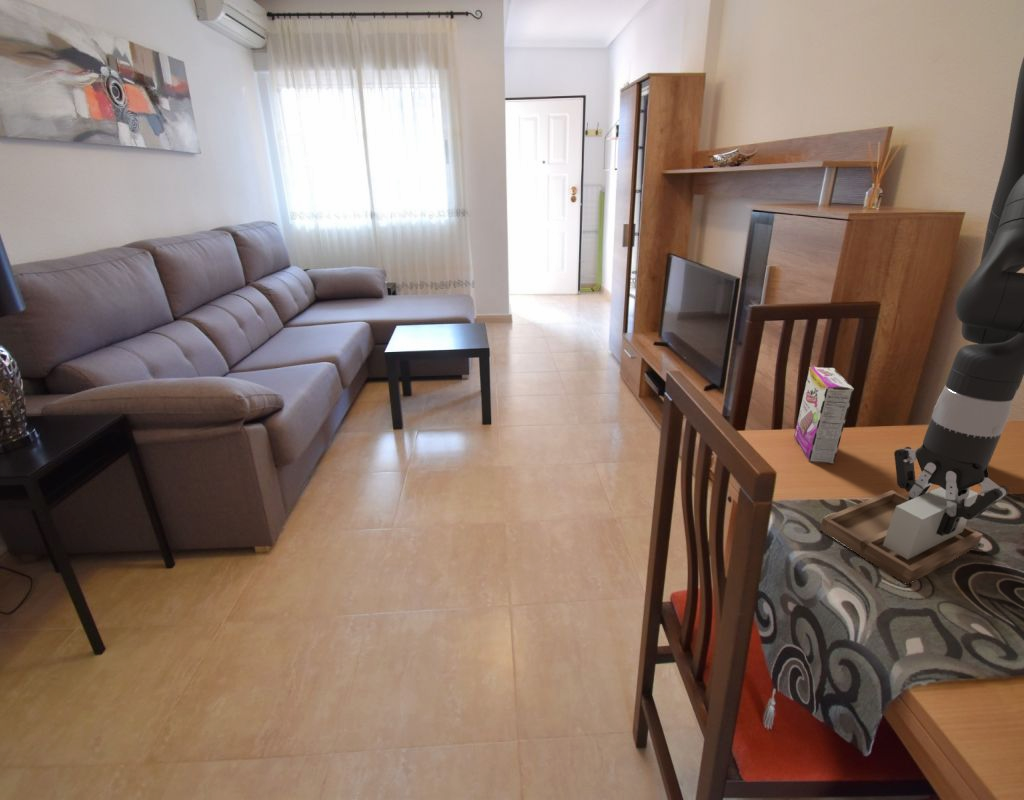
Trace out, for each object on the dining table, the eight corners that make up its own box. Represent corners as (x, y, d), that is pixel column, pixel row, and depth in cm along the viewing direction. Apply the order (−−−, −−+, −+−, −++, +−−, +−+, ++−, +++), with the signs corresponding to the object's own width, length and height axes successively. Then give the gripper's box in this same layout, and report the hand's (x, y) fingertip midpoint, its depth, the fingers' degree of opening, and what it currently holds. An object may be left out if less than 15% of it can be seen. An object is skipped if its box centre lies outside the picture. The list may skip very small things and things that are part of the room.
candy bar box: (791, 436, 115) (808, 365, 108) (816, 438, 114) (835, 367, 107) (807, 462, 105) (826, 386, 98) (834, 464, 104) (856, 388, 97)
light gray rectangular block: (937, 519, 84) (952, 481, 81) (962, 531, 81) (978, 493, 78) (882, 545, 78) (896, 506, 75) (907, 559, 75) (922, 519, 72)
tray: (888, 502, 92) (892, 490, 91) (977, 547, 81) (983, 534, 80) (819, 530, 85) (822, 518, 84) (906, 585, 74) (912, 571, 73)
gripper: (1046, 438, 67) (997, 546, 74) (926, 398, 79) (893, 495, 86) (1016, 450, 64) (967, 562, 71) (895, 407, 76) (864, 507, 83)
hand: (927, 525), depth 78 cm, fingers closed on light gray rectangular block, 3 cm apart
